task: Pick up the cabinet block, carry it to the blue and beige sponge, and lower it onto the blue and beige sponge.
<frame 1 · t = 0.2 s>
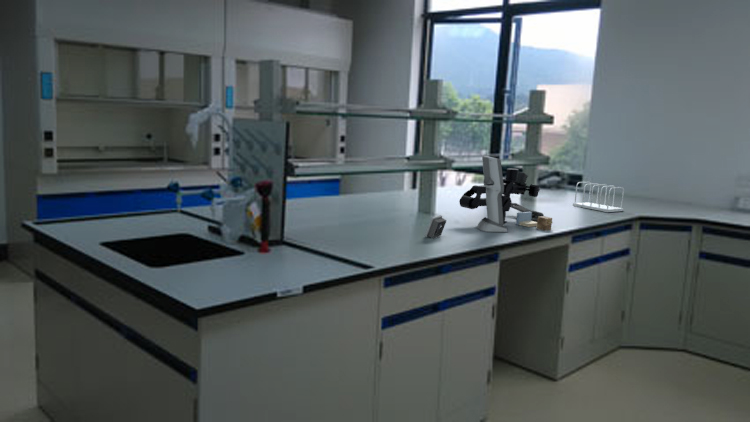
hand: (532, 188, 323), 17 cm above the worktop, tool horizontal, fingers open, 9 cm apart
blue and beige sponge: (523, 223, 309), on the worktop
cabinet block: (543, 229, 298), on the worktop
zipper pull: (524, 219, 325), on the worktop
electrical switch: (435, 236, 264), on the worktop
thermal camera: (491, 230, 288), on the worktop
file sorter: (597, 209, 379), on the worktop
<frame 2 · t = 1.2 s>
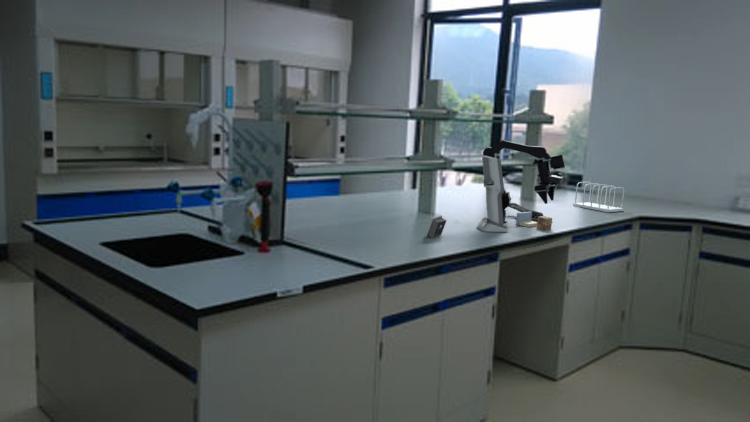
hand: (549, 202, 301), 13 cm above the worktop, tool tilted 15°, fingers open, 9 cm apart
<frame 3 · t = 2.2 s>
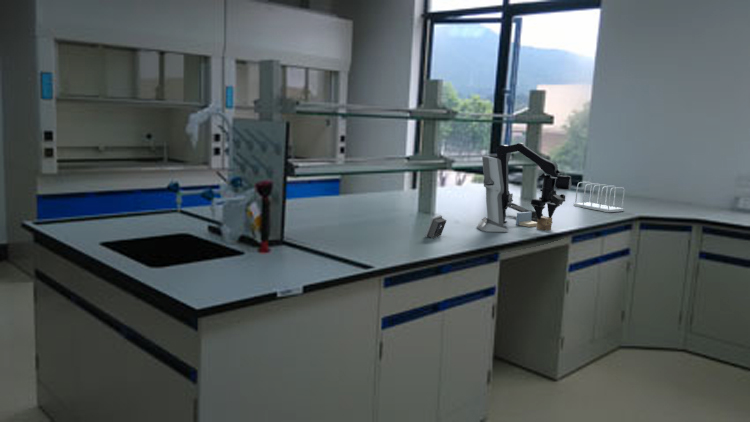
hand: (544, 218, 298), 5 cm above the worktop, tool pointing down, fingers open, 9 cm apart
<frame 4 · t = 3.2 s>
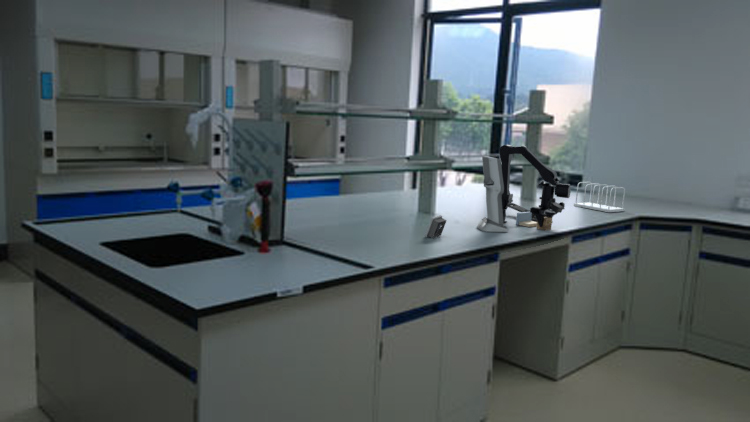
hand: (544, 226, 298), 1 cm above the worktop, tool pointing down, fingers closed on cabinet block, 5 cm apart
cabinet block: (543, 229, 298), on the worktop, touching gripper
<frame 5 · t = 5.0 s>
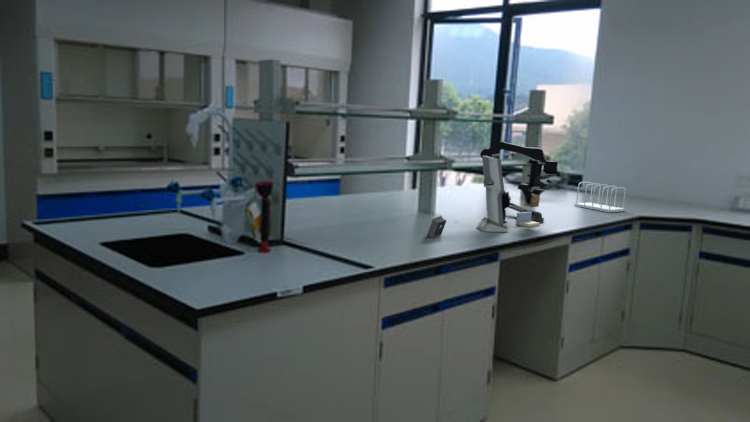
hand: (531, 203, 304), 11 cm above the worktop, tool pointing down, fingers closed on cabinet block, 5 cm apart
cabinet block: (531, 206, 304), point 10 cm above the worktop, touching gripper
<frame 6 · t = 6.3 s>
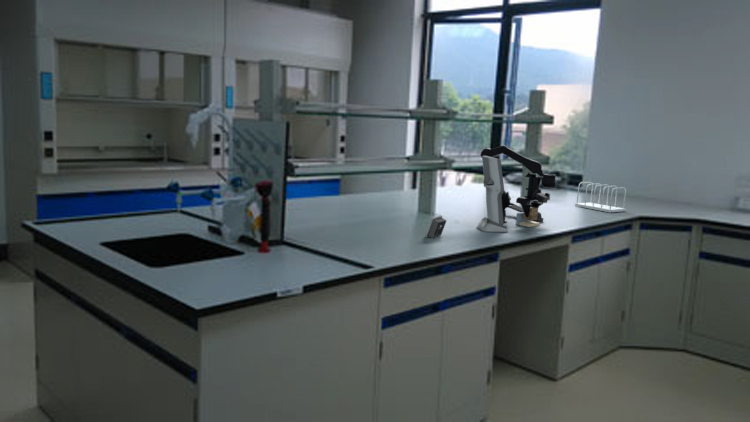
hand: (530, 216, 305), 4 cm above the worktop, tool pointing down, fingers closed on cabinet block, 5 cm apart
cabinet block: (529, 219, 306), point 3 cm above the worktop, touching gripper
when the fingers open (4 cm above the worktop, at t = 6.4 s): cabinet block drops 2 cm, resting on blue and beige sponge.
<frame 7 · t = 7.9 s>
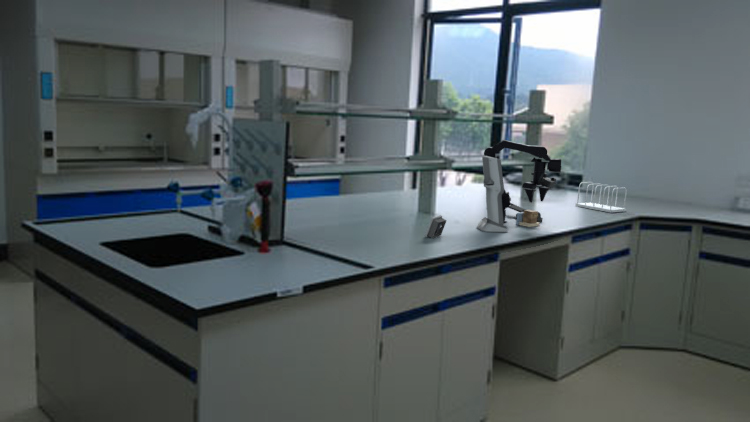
hand: (536, 201, 304), 12 cm above the worktop, tool pointing down, fingers open, 9 cm apart
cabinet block: (529, 222, 306), point 1 cm above the worktop, touching blue and beige sponge
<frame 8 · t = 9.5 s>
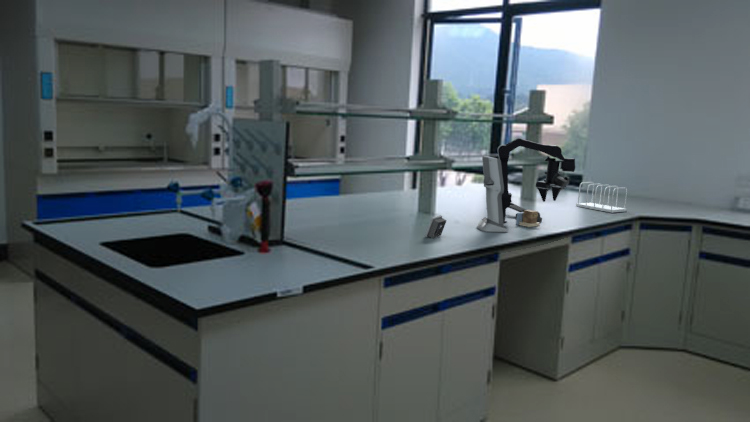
hand: (549, 201, 304), 13 cm above the worktop, tool pointing down, fingers open, 9 cm apart
at the end: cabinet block 0.3 cm from the target spot on the blue and beige sponge, point 1.5 cm above the blue and beige sponge's base; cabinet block tilted 0°; the gripper is holding nothing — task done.
